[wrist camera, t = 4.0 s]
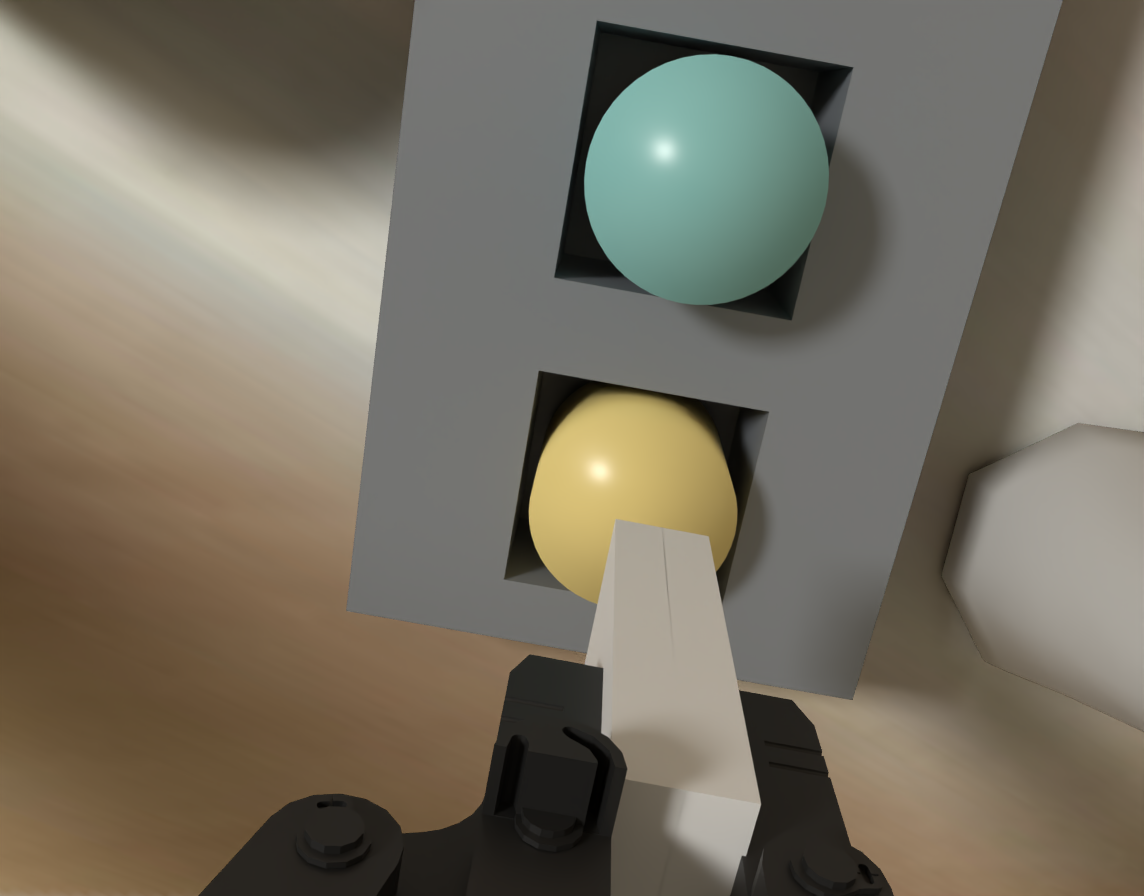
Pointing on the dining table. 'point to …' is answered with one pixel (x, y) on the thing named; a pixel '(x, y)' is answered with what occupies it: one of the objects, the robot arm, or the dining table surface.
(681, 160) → the teal button
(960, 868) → the dining table surface
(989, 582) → the flask
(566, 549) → the mustard button
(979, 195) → the console
